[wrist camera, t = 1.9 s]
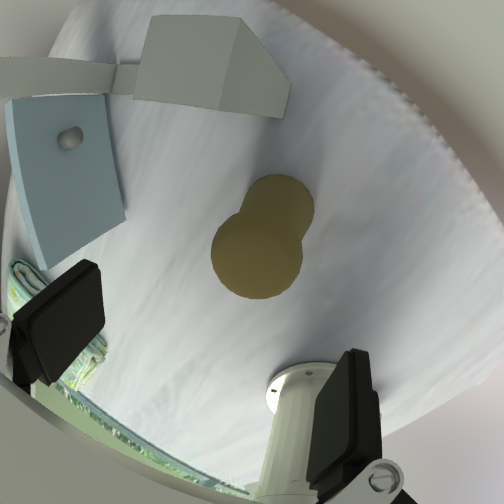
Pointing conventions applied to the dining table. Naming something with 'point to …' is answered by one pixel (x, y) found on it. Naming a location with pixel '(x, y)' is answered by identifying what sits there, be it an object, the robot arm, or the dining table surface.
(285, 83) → the door frame
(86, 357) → the towel
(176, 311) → the dining table surface
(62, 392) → the dining table surface
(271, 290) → the cork
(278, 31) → the dining table surface
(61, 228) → the door
